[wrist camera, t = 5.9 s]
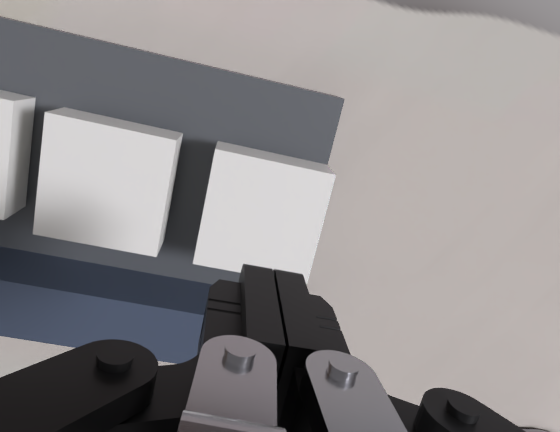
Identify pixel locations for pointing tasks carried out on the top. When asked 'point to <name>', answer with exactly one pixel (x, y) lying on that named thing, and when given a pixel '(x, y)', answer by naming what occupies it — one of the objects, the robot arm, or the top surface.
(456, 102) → the top surface
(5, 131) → the outer key
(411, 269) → the top surface
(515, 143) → the top surface
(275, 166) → the inner key
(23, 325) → the keypad
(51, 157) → the middle key
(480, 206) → the top surface
